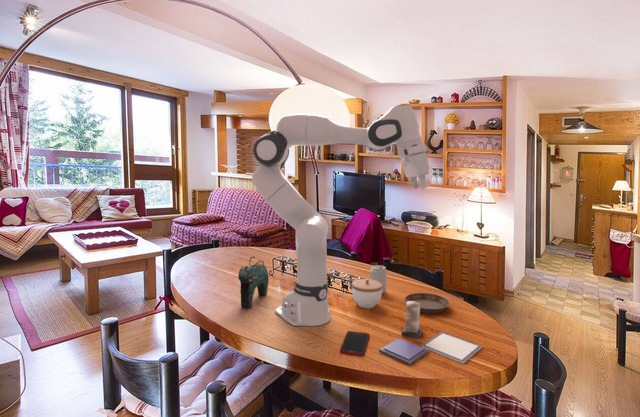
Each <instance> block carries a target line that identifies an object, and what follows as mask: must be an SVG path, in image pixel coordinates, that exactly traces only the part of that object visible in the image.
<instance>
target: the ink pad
mask: <svg viewBox="0 0 640 417" xmlns="http://www.w3.org/2000/svg"><path fill="white" fill-rule="evenodd" d="M378 351H379V353H382V354H384V355H386V356H388V357H390V358H393V359H395V360H397V361H399V362H402V363H404V364H406V365H408V366H412V364H414V363H415V362H417V361H418V360H420V359H421V358H422V357H424V356H425V355H427V354H428V353H429V351H430V350H428V349H426V348H423V347H421V345H418V344H415V343H412V342H410V341H407V340H405V339H403V338H400V337H398V338H396V339H395V340H392V341H391V342H389V343H388V344H386V345H384V346H382V347H380V348H379V349H378Z"/></svg>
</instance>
